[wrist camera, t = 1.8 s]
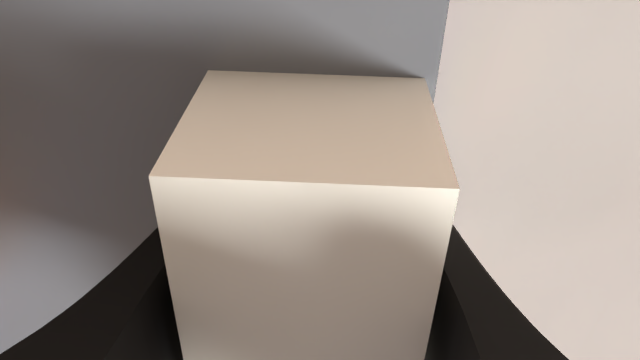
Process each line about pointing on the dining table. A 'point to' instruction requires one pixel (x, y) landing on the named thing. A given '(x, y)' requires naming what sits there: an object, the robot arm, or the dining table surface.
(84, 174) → the baseplate
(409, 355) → the cream brick
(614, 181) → the dining table surface
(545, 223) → the dining table surface
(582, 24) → the dining table surface
